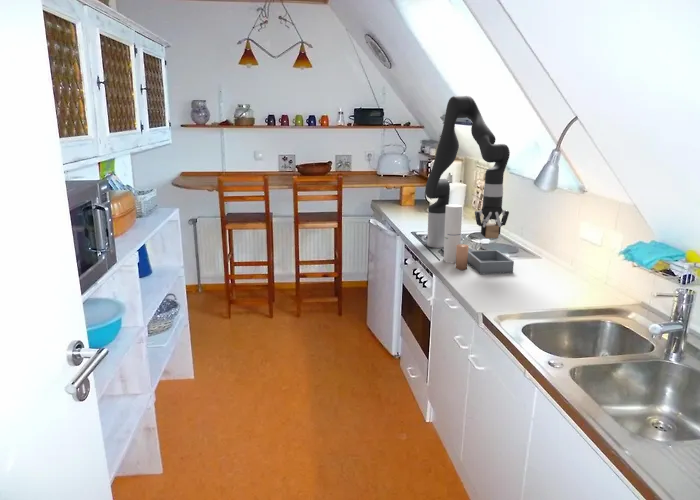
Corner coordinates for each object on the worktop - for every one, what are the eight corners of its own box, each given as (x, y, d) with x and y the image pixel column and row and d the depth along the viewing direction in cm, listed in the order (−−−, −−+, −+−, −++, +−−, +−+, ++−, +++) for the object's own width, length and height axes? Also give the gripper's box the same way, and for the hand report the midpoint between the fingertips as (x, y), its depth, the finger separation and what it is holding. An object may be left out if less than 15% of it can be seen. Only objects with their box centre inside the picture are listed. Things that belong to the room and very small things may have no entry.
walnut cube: (482, 235, 206) (483, 223, 205) (494, 235, 206) (494, 223, 205) (486, 238, 201) (487, 226, 200) (498, 237, 202) (499, 226, 200)
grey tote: (466, 261, 220) (466, 250, 219) (496, 260, 221) (497, 249, 220) (479, 274, 203) (480, 262, 202) (512, 273, 204) (513, 261, 203)
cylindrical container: (455, 263, 218) (457, 207, 211) (440, 261, 222) (442, 206, 215) (462, 259, 223) (465, 205, 217) (447, 257, 227) (450, 203, 221)
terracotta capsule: (453, 266, 213) (455, 244, 211) (465, 266, 214) (466, 244, 211) (457, 270, 209) (458, 247, 206) (468, 269, 209) (470, 247, 206)
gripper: (507, 192, 203) (504, 233, 208) (472, 193, 202) (470, 233, 207) (514, 195, 196) (510, 237, 201) (478, 196, 195) (476, 238, 200)
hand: (490, 235), depth 204 cm, fingers closed on walnut cube, 5 cm apart
